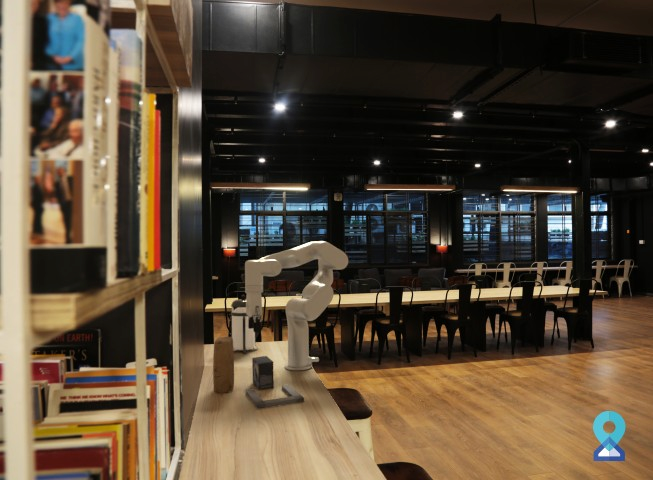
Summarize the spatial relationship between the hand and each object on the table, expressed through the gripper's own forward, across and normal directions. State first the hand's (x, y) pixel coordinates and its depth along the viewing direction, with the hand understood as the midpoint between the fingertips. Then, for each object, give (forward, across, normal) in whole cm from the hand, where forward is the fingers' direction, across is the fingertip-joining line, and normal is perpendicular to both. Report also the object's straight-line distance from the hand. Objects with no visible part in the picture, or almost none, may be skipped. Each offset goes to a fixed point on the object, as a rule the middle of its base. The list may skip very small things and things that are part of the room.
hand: (254, 329), depth 191 cm
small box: (+20, +13, 0) cm, 24 cm away
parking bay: (+20, +29, 0) cm, 36 cm away
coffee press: (+20, -52, +7) cm, 56 cm away
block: (+20, +12, -15) cm, 28 cm away
